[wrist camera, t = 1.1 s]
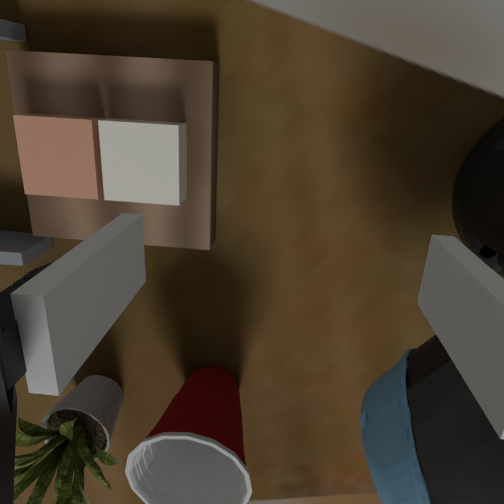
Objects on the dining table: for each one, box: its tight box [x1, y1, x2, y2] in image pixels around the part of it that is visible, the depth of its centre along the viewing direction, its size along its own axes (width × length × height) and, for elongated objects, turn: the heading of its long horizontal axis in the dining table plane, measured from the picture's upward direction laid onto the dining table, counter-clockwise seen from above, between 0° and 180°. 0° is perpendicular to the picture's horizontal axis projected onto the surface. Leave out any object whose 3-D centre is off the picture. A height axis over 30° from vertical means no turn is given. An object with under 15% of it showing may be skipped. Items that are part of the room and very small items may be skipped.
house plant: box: [13, 375, 124, 504], centre depth 39 cm, size 14×14×16 cm
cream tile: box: [98, 118, 187, 206], centre depth 32 cm, size 6×6×2 cm
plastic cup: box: [125, 366, 252, 504], centre depth 39 cm, size 11×11×12 cm
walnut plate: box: [5, 50, 219, 250], centre depth 35 cm, size 16×15×3 cm
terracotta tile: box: [13, 113, 106, 200], centre depth 32 cm, size 6×6×2 cm
